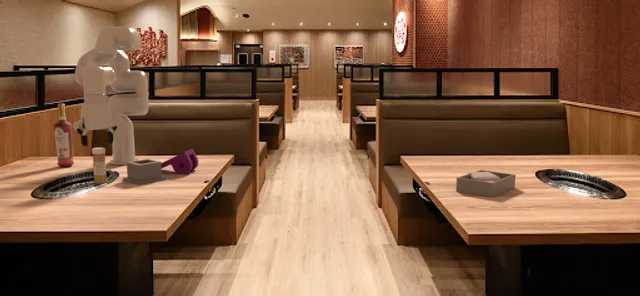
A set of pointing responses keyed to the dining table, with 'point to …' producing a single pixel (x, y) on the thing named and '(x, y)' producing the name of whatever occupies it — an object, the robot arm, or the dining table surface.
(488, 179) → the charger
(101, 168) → the sprinkles bottle
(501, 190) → the stand
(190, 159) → the mounting bracket
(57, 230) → the dining table surface
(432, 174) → the dining table surface
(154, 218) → the dining table surface
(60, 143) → the liquor
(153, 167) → the well
